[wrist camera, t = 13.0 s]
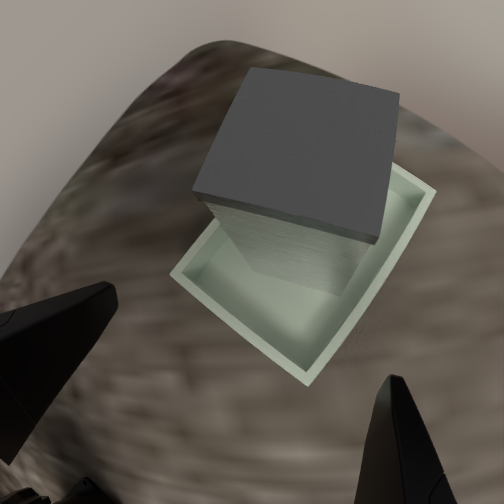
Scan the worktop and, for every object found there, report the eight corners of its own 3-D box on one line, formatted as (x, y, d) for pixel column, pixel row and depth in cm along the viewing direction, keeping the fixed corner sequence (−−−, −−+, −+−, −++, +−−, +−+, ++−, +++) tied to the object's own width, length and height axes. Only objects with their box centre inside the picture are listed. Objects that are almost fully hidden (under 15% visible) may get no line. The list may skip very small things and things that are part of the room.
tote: (308, 381, 20) (307, 386, 17) (185, 283, 23) (168, 274, 20) (423, 209, 22) (436, 191, 19) (306, 137, 25) (304, 114, 22)
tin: (341, 298, 20) (379, 237, 9) (252, 272, 22) (191, 190, 11) (362, 213, 22) (399, 93, 10) (279, 192, 23) (250, 67, 12)
